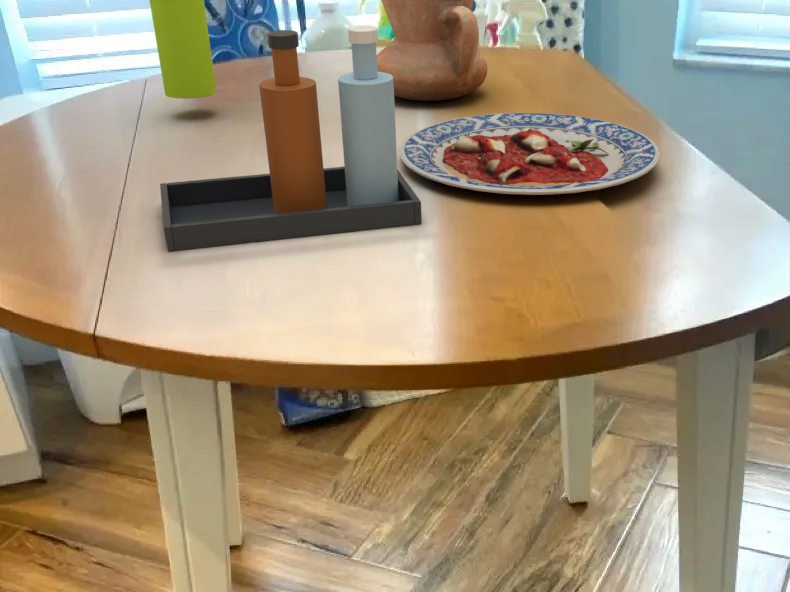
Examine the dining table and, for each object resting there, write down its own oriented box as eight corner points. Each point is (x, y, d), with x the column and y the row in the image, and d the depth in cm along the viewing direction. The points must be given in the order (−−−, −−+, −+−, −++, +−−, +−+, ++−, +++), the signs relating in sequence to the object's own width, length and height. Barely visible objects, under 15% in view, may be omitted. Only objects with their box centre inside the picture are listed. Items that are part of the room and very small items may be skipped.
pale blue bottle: (352, 217, 84) (339, 35, 75) (343, 199, 87) (329, 24, 79) (404, 211, 85) (396, 31, 76) (392, 195, 88) (384, 21, 80)
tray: (169, 260, 78) (163, 227, 77) (165, 213, 87) (159, 183, 85) (422, 232, 83) (421, 201, 81) (393, 191, 92) (392, 161, 90)
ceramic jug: (348, 88, 124) (340, -34, 116) (444, 74, 130) (442, -44, 122) (417, 121, 111) (413, -14, 103) (520, 103, 118) (523, -26, 110)
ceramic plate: (428, 226, 84) (427, 193, 82) (381, 142, 105) (379, 114, 103) (700, 201, 89) (705, 169, 87) (604, 125, 109) (606, 98, 108)
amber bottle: (278, 225, 82) (256, 40, 74) (271, 207, 86) (250, 29, 78) (331, 219, 83) (315, 36, 75) (322, 202, 87) (307, 25, 79)
